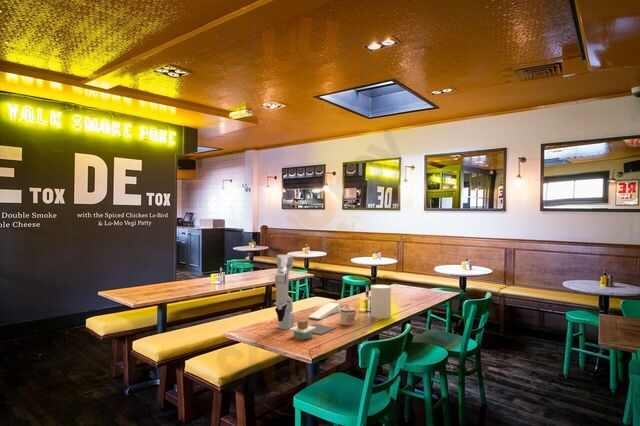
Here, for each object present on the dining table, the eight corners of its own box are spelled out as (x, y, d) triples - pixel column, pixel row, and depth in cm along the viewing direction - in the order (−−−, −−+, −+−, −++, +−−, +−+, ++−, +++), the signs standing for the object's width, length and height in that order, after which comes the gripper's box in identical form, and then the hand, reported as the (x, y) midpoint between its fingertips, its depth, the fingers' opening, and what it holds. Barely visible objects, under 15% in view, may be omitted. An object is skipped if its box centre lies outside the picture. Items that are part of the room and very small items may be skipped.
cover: (300, 325, 225) (300, 317, 225) (316, 328, 219) (316, 320, 219) (289, 330, 216) (289, 321, 216) (304, 333, 210) (304, 324, 210)
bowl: (301, 332, 224) (301, 325, 224) (315, 335, 219) (315, 328, 219) (290, 337, 216) (290, 330, 216) (304, 340, 210) (304, 333, 210)
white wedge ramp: (319, 329, 251) (340, 314, 275) (321, 319, 249) (341, 304, 273) (306, 323, 256) (328, 308, 280) (308, 313, 254) (329, 299, 278)
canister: (376, 319, 253) (376, 288, 253) (367, 314, 266) (367, 285, 266) (394, 317, 257) (394, 287, 257) (385, 312, 270) (384, 283, 270)
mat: (314, 324, 240) (314, 323, 240) (335, 328, 232) (335, 327, 232) (300, 330, 228) (300, 329, 228) (321, 335, 219) (321, 334, 219)
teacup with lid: (347, 326, 237) (347, 307, 237) (337, 323, 243) (337, 304, 244) (360, 322, 245) (360, 304, 245) (350, 319, 252) (350, 301, 252)
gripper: (275, 292, 223) (275, 315, 223) (272, 297, 208) (272, 323, 208) (287, 292, 223) (287, 315, 223) (285, 297, 208) (285, 322, 208)
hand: (281, 319), depth 215 cm, fingers open, 7 cm apart
